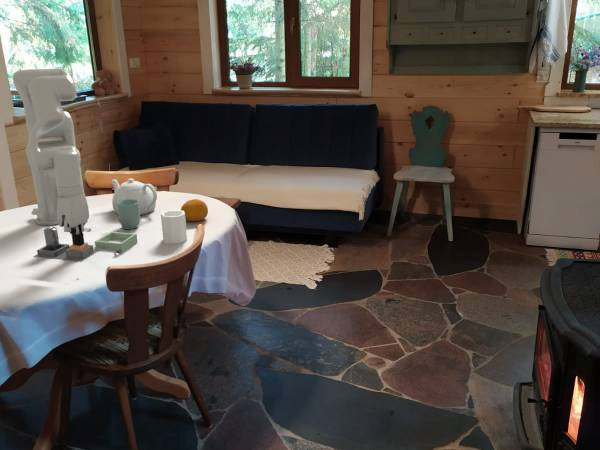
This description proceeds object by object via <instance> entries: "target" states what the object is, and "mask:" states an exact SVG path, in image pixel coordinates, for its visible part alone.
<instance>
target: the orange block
mask: <svg viewBox="0 0 600 450" xmlns="http://www.w3.org/2000/svg"><path fill="white" fill-rule="evenodd" d="M88 245H89V242H85V241H84V244H82V245H81V246H79V245H73V243H72V244H69V247H70V250H75V251H82V250H84V249H86V248H87V247H88Z"/></svg>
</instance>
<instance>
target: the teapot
mask: <svg viewBox="0 0 600 450" xmlns="http://www.w3.org/2000/svg"><path fill="white" fill-rule="evenodd" d="M109 182H110V183H111V184H112V187H113V190H114V193H113V196H112V198H111V199H112V208H113V209H112V210H113V212H115V214H117V215H118V210H117V203H118V202H119V201H121V200H126V199H134V200H138V201H139V207H140V216H141V215H146V214H149V213H151V212H153V211H154V210H155V208H156V204H157V202H156V201H157V199H158V195H157V194H158V193H157V191H156V188H155V187H154V186H153V184H151V183H143V182H140V181H138V180H135V179H134V178H128V179H127V181H124V182H122V183H121V184H120V183H119V181H118V180H117V179H115V178H113V179H111V180H110V181H109Z"/></svg>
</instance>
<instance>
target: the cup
mask: <svg viewBox="0 0 600 450" xmlns="http://www.w3.org/2000/svg"><path fill="white" fill-rule="evenodd" d="M117 210H118V214H117V215H118V221H119V224H120V226H121V227H122V228H124V229H125V230H133V229H136V228H137V227H138V226H139V225H140V223H141V215H140V207H139V201H138V200H134V199H126V200H121V201H119V202H118V203H117Z"/></svg>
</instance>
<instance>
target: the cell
mask: <svg viewBox="0 0 600 450" xmlns="http://www.w3.org/2000/svg"><path fill="white" fill-rule="evenodd" d="M43 234H44V240H45V246H46V247H47V250H49V251H56V250H58V249H60V245H59V244H60V240H59V234H58V228H57V227H55V226H48V227H45V228H44V229H43Z"/></svg>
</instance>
